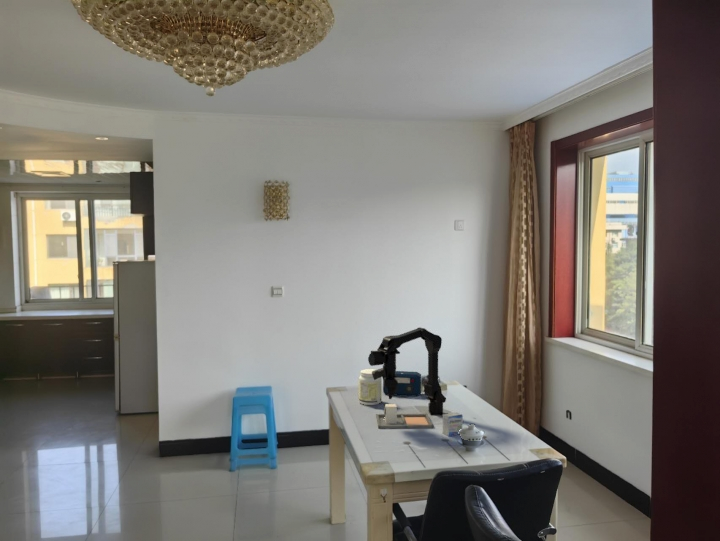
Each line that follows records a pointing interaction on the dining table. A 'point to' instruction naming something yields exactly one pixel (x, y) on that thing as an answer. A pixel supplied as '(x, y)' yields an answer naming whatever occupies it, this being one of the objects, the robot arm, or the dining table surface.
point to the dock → (406, 421)
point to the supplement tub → (369, 388)
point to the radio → (407, 383)
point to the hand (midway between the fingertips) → (389, 396)
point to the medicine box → (452, 423)
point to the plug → (390, 413)
